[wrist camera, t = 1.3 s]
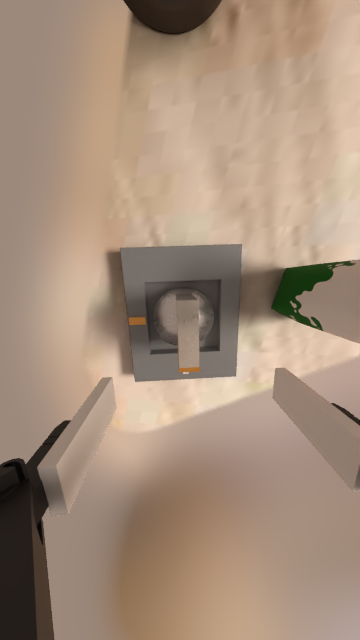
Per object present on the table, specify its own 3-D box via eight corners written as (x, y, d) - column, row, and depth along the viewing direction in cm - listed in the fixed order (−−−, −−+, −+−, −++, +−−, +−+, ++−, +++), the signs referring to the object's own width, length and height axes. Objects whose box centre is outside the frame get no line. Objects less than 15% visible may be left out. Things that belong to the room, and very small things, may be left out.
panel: (124, 250, 27) (119, 247, 25) (235, 247, 28) (242, 243, 25) (137, 374, 32) (134, 382, 30) (231, 369, 33) (236, 377, 30)
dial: (152, 288, 28) (140, 293, 18) (212, 285, 29) (233, 289, 18) (156, 344, 31) (147, 377, 20) (211, 341, 31) (230, 372, 21)
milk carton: (329, 274, 29) (630, 263, 10) (308, 323, 31) (526, 394, 12) (282, 261, 29) (511, 223, 9) (264, 312, 31) (421, 370, 11)
